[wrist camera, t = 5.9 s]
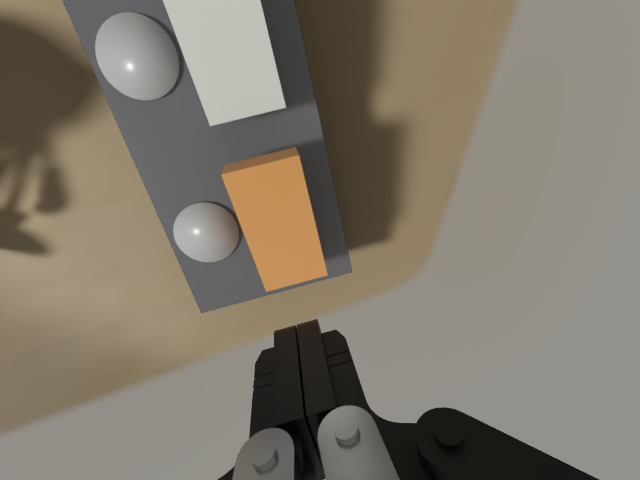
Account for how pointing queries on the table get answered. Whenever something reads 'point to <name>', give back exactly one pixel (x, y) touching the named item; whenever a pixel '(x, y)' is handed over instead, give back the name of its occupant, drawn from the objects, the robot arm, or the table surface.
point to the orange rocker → (276, 217)
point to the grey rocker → (227, 56)
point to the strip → (206, 140)
